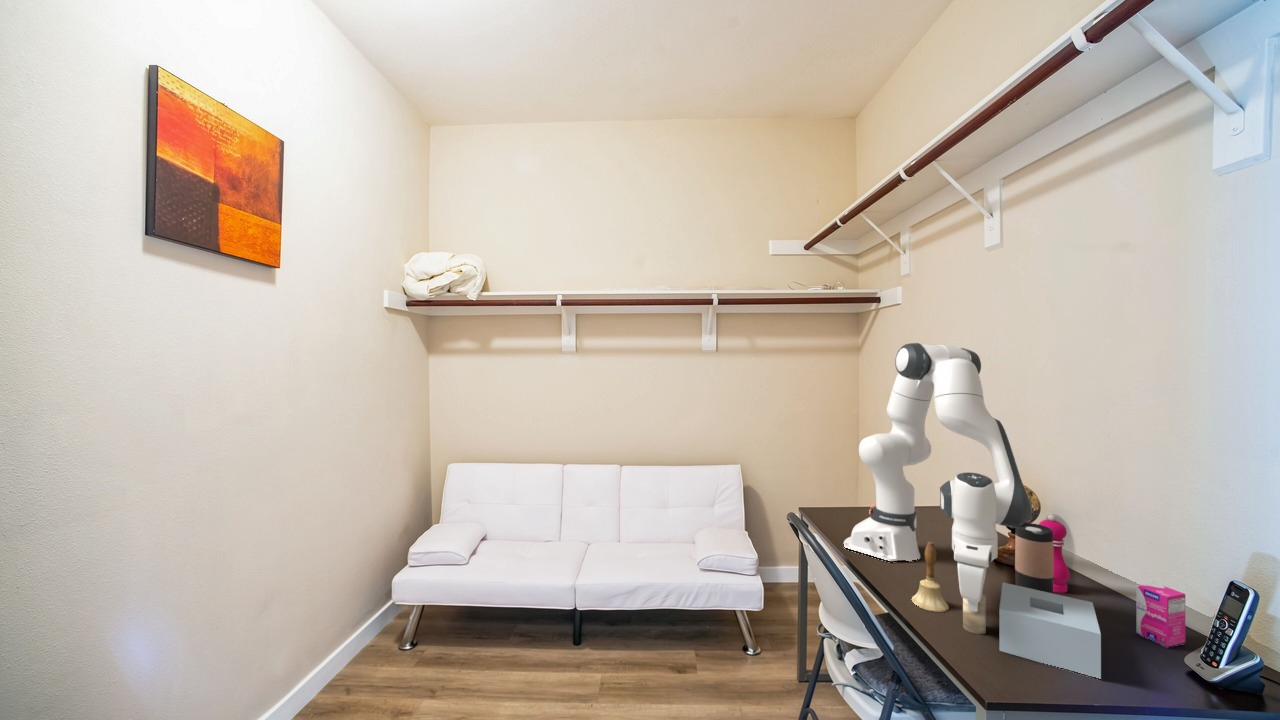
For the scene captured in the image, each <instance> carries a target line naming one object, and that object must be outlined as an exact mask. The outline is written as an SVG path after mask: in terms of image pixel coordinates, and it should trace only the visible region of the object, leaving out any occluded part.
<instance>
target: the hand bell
mask: <svg viewBox="0 0 1280 720" xmlns="http://www.w3.org/2000/svg"><path fill="white" fill-rule="evenodd" d="M924 559H925V564H926V575H925V576H926V577H925V579H922V580H920V581H919V586H918V590H917V592H916V594H914V595H913V596H912V597H911V598H912V599H910V601H911V600H912V601H911V602H913V603H914V604H915V606H916V605H917V606H916V607H918V606H919V607H918V608H920V609H922V610H924V611H928V612H932V611H933V613H945V612H948V611H949V609H950V608H949V607H950V606H949V604H948V603H947V602H946V601H945V600H944V598H943V596H942V591H941V585H940V584H939V583H938V582H937V581H935V580H934V579H935V569H934V568H935V565H936V561H937V550H936V547H935V543H934V542H933V541H931V540H929V541H927V545H926V546H925V550H924ZM913 603H912V604H913ZM914 604H913V605H914Z"/></svg>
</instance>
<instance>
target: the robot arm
mask: <svg viewBox="0 0 1280 720" xmlns="http://www.w3.org/2000/svg"><path fill="white" fill-rule="evenodd" d="M981 361H982V360H981V357H980V356H979V355H978V354H977V353H976V352H975V351H972V350H970V349H967V348H964V347H962V348H961V347H960V348H959V347H955V346H951V345H946V344H929V343H928V344H927V343H923V344H922V343H919V342H913V343H905V344H904V345H902V346H901V347H900V348H899V349H898V350H897V353H896V356H895V362H894V363H895V365H894V366H895V369H896V372H897V375H896V377H895V380H894V382H893V385H892V389H891V392H890V396H889V399H888V403H887V406H886V414H887V416H888V417H889V419H891V422H892V426H891V430H890V431H889V432H884V433H883V432H882V433H874V434H871V435H869V436H866V437H865V438H863V439H861V441H860V443H859V445H858V455H859V457H860V459H861V462H862V463H863V464H865V466H867V467H868V469H869V470H870V472H871V474H872V477H873V480H874V485H875V503H873V504H871V505H870V508H869V510H868V514H869V517H867V518H865V519H864V520H862V521H860V522H858V523H857V524H855V526H853V528H852V531H851V534H850V536H848V537H847V538H846V539H844V541H843V544H844V547H845V548H848V549H851V550H854V551H858V552H861V553H864V554H868V555H871V556H874V557H877V558H881V559H884V560H888V561H897V560H906V561H909V562H913V561H912V560H916V561H918V560H920V559H921V558H922V557H921V553H920V550H919V546H918V542H917V541H918V540H917V536H916V530H917V524H918V523H917V522H918V521H917V519H918V518H917V513H916V511H915V487H914V485H913V483H912V482H910V481H908V480H907V479H906V477H905V473H904V467H908V466H914V465H915V466H916V465H918V464H919V463H922V462H924V461H926V460H928V459H929V457H930V456H931V455H932V454H931V453H932V445H931V443H930V440H929V439H928V437H927V436H926V431H925V425H926V419H927V416H928V411H929V408H930V404H931V401H932V398H933V401H934V403H933V404H934V411H935V414H936V418H937V420H938V421H939V423H940V424H941V425H943V427H944V428H946V429H947V430H949V431H951V432H953V433H955V434H957V435H960V436H963V437H966V438H969V439H971V440H974V441H975V442H978V443H980V444H981V445H983V446H984V447H985V448H986V449H987V450H988V451H989V453H990V455H991V459H992V462H993V465H994V469H995V472H996V475H997V479H998V482H996V483H995V482H994V481H993V479H992V478H990V477H989V476H987V475H985V474H981V473H977V472H968V471H967V472H961V473H958V474H956V475H955V476H954V478H953V479H952V480H948V481H946V482H944V483H943V484H941V486H940V487H939V494H940V495H939V496H940V497H939V509H940V510H941V512H943V513H944V514H945V515H946V516H947V517H949V518H951V519H953V523H952V527H951V550H952V551H953V559H954V561H955V562H957V577H958V585H959V592H960V596H961V598H962V599H963V598H965V599H968V609H969V610H971V611H975V612H977V611H978V602H979V601H980V600H981V597H982V594H983V590H984V586H985V579H986V577H987V576H986V575H987V570H988V568H989V567H990V565H991V564H992V562H993V561H994V560H995V559H997V558H998V554H999V552H998V551H999V549H998V547H999V545H998V544H999V543H998V542H999V541H998V539H999V536H998V532H997V527H996V526H997V525H999V526H1004V527H1009V528H1015V529H1016V528H1017V527H1019V526H1021V525H1023V524H1024V523H1028V521H1030V519H1031V518H1032V514H1033V513H1032V510H1033V509H1032V504H1031V500H1030V497H1029V494H1028V492H1027V490H1026V488H1025V486H1024V483H1023V480H1022V477H1021V475H1020V472H1019V469H1018V465H1017V462H1016V459H1015V456H1014V452H1013V449H1012V447H1011V444H1010V443H1011V442H1010V441H1009V438H1008V435H1007V431H1006V429H1005V427H1004V425H1003V424H1002V422H1001V421H1000V420H999V419H996V418H994V417H993V416H992V415H991V413H990V412H989V411H988V409H987V407H986V404H985V400H984V392H983V391H984V390H983V386H982V381H981V377H980V374H981V369H982V362H981ZM844 547H843V548H844ZM845 548H844V549H845ZM917 559H918V560H917Z"/></svg>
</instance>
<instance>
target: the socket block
mask: <svg viewBox="0 0 1280 720" xmlns="http://www.w3.org/2000/svg"><path fill="white" fill-rule="evenodd" d="M999 600H1000V602H999V613H998V614H999V622H998V624H999V627H998V628H999V636H998V638H999V648H998V649H999V650H998V651H1000V652H1003V653H1007V654H1009V655H1014V656H1017V657H1020V658H1023V659H1027V660H1031V661H1034V662H1038V663H1040V664H1043V663H1044V665H1047V664H1048V666H1050V665H1052V666H1051V667H1053V666H1056V667H1055V668H1057V667H1059V668H1058V669H1060V668H1064V669H1068V670H1071V671H1075V672H1078V673H1081V674H1085V675H1088V676H1092V677H1096V678H1099V679H1101V680H1102V643H1101V642H1102V634H1101V629H1100V625H1099V623H1098V618H1097V615H1096V614H1097V613H1096V610H1095V607H1094V603H1093V601H1088V600H1083V599H1080V598H1079V599H1078V598H1073V597H1070V596H1065V595H1062V594H1056V593H1053V594H1052V593H1048V592H1044V591H1039V590H1035V589H1030V588H1026V587H1021V586H1017V585H1016V584H1012V583H1007V582H1002V584H1001V594H1000V599H999ZM1064 669H1063V670H1064ZM1071 671H1070V672H1071ZM1081 674H1080V675H1081ZM1088 676H1087V677H1088Z"/></svg>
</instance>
